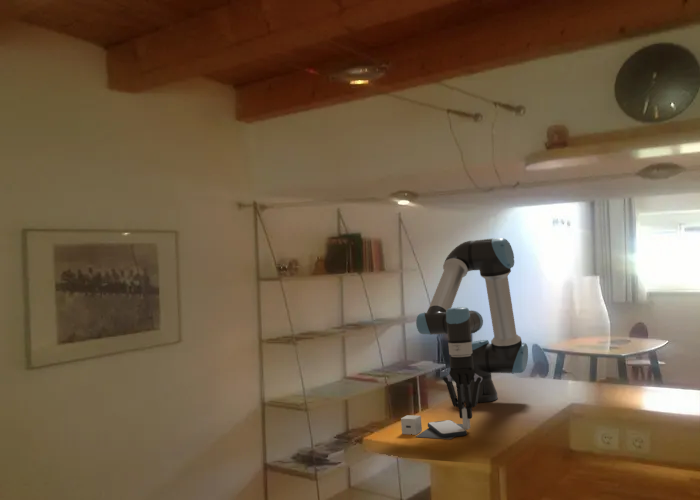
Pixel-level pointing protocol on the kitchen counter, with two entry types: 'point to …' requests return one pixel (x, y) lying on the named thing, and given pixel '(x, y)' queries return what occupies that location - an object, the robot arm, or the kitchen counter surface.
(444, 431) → the phone case
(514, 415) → the kitchen counter surface
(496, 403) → the kitchen counter surface
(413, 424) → the charger block
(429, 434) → the charging mat
